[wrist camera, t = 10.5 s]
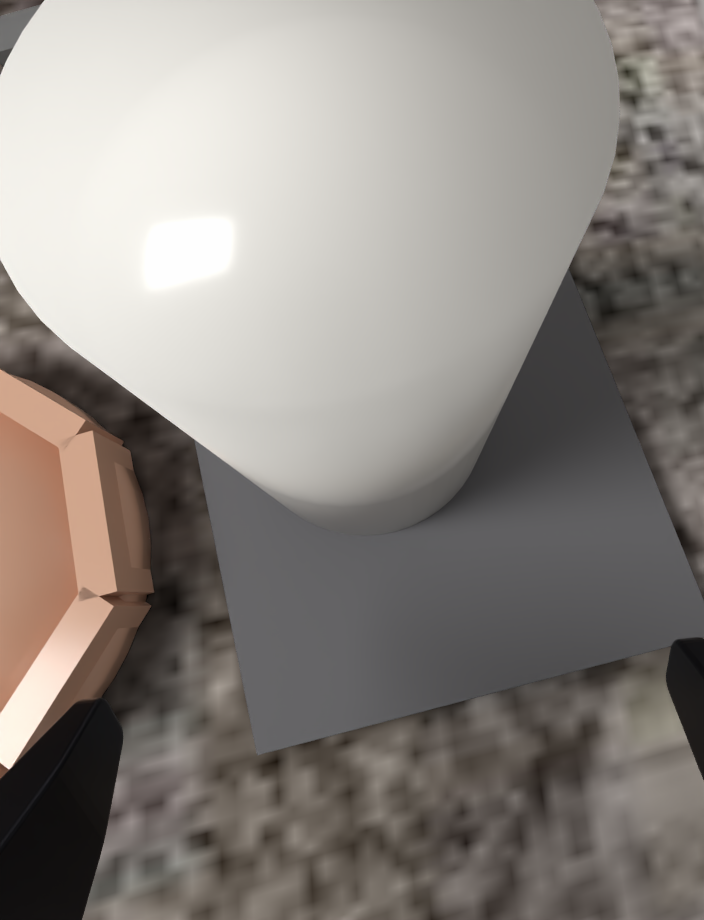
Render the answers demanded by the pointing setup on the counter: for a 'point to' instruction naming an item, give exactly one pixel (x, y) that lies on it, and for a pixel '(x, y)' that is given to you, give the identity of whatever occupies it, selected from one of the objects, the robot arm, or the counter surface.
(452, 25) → the white smooth rounded cylinder
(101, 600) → the dish
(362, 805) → the counter surface
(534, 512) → the dark grey flat plate
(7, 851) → the robot arm
